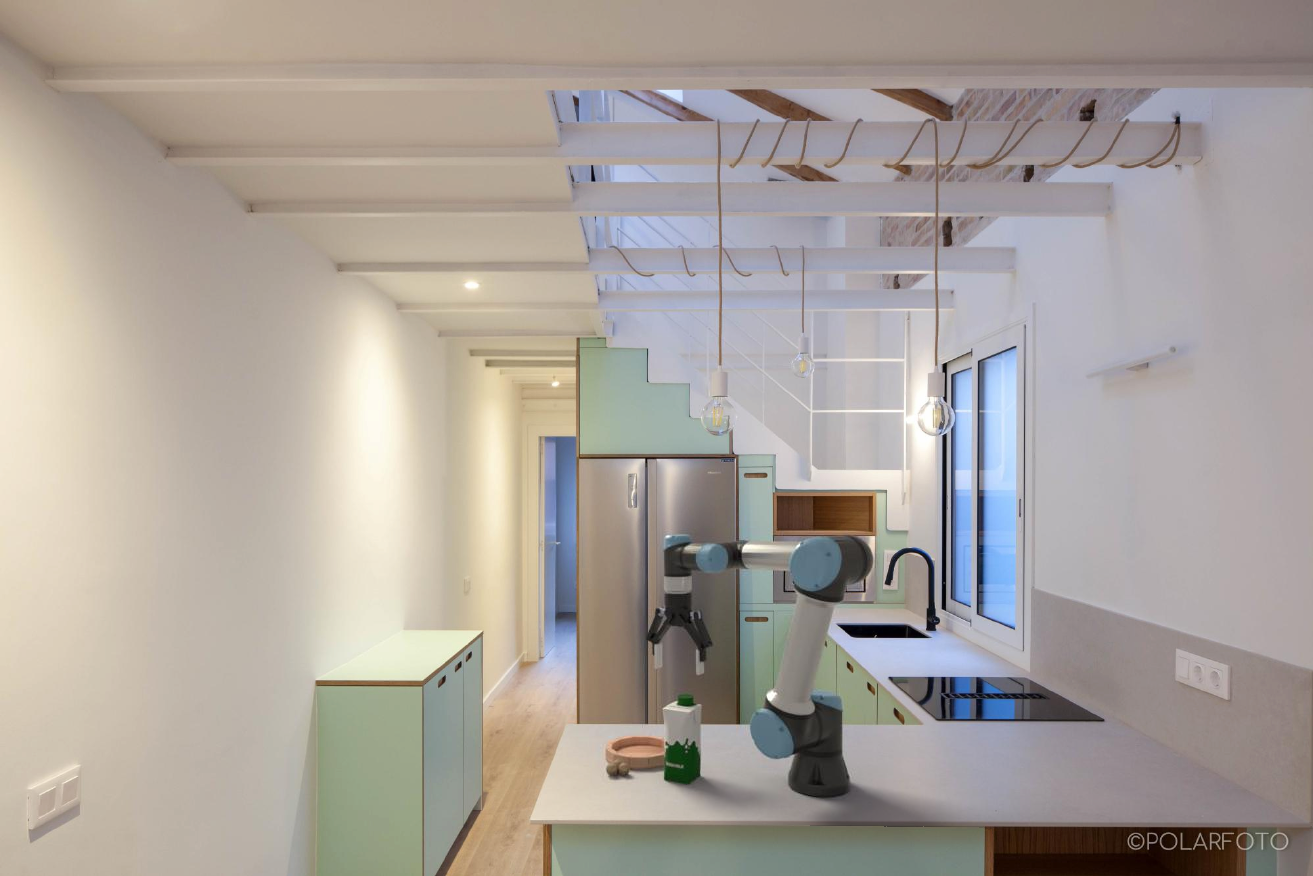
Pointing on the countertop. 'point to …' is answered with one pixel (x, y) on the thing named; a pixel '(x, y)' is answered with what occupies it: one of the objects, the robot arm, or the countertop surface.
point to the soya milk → (682, 740)
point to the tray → (637, 751)
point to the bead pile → (617, 768)
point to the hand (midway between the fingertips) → (679, 671)
